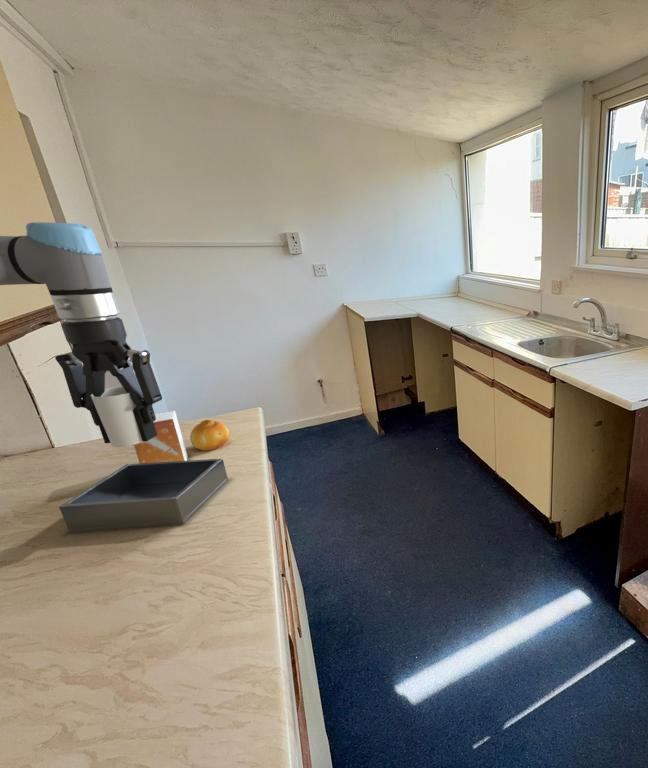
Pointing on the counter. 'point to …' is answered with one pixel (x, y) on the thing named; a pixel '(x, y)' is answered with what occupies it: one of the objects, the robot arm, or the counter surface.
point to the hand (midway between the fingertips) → (131, 438)
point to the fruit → (209, 435)
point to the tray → (145, 496)
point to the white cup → (118, 417)
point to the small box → (163, 441)
